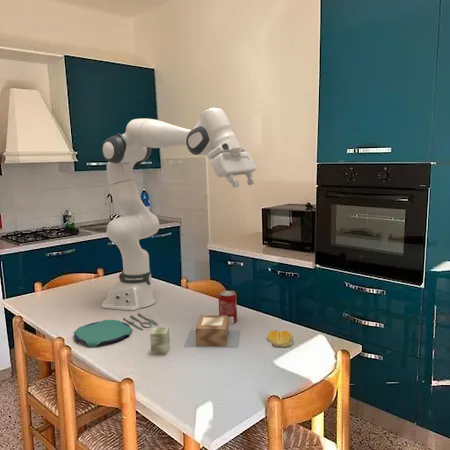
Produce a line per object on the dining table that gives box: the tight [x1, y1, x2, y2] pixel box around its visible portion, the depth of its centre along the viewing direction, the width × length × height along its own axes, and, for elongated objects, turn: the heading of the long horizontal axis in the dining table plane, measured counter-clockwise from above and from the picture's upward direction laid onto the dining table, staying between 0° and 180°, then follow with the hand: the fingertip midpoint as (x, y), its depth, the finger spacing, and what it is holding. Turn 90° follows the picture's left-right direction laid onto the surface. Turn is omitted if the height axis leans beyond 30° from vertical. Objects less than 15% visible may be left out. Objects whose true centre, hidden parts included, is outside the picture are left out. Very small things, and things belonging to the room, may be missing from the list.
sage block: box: [149, 327, 171, 356], centre depth 140 cm, size 5×5×8 cm
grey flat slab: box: [183, 329, 241, 349], centre depth 150 cm, size 18×14×1 cm
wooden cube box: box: [194, 314, 230, 346], centre depth 149 cm, size 10×12×6 cm
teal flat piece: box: [73, 312, 160, 348], centre depth 160 cm, size 20×30×2 cm, turn 131°
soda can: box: [218, 290, 238, 325], centre depth 164 cm, size 7×7×12 cm
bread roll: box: [266, 330, 294, 348], centre depth 147 cm, size 8×9×4 cm
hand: (244, 185), depth 149 cm, fingers open, 8 cm apart
